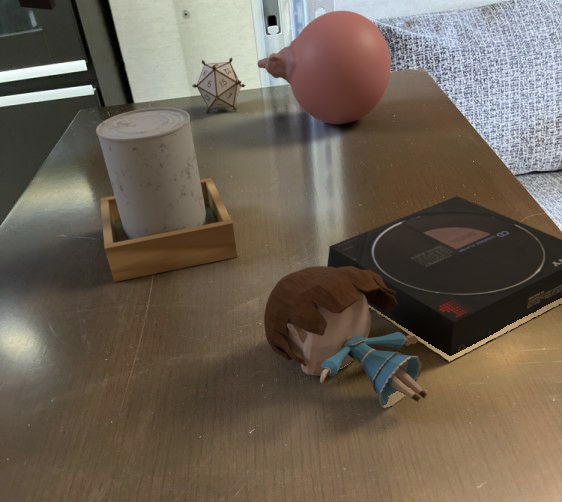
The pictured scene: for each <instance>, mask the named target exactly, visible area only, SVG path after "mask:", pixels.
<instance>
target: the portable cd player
mask: <svg viewBox="0 0 562 502" xmlns="http://www.w3.org/2000/svg"><path fill="white" fill-rule="evenodd" d="M327 257H328V258H327V265H326V266H327V267H335V268H339V267H347V266H353V267H356V268H358V269H360V270H371V271H373V272H374V273H376V274H378V275H380V276H381V278H382V279H383V281H384V283H385V285H386V287H387V288H388V289H391V290H395V291H396V292H395V296H394V297H395V299H396V301H397V305H396V306H395V308H394V309H393V311H385V310H383V309H381V308H379V307H377V306H376V305H374V304H372V303H370V302H367V303H368V305H370V306H371V307H373V308H374V309H375V310H377V311H379V312H381V314H383V315H385V316H387V317H388V318H390V319H391V320H393V321H395V322H396V323H397V324H399V325H401V326H402V327H404V328H406V329H408V331H410V332H412V333H413V334H415V335H416V336H418V337H420V338H421V339H423V340H424V341H426V342H428V344H431V345H432V346H434V347H435V348H437V349H439V350H441V351H442V352H444V353H446V354H447V355H449V356H452V355H454V354H456V353H458V352H460V351H462V350H464V349H466V348H467V347H470V346H472V345H473V344H476V343H477V342H479V341H481V340H483V339H485V338H487V337H489V336H490V335H493V334H494V333H496V332H498V331H500V330H501V329H503V328H504V327H506V326H507V325H510V324H512V323H514V322H516V321H517V320H519V319H522V318H523V317H525V316H528V315H529V314H531V313H534V312H536V311H537V310H539V309H541V308H542V307H544V306H546V305H548V304H550V303H552V302H554V301H556V300H558V299H560V298H562V239H561V238H559V237H556V236H555V235H552V234H550V233H546V232H544V231H542V230H540V229H537V228H535V227H533V226H530V225H527V224H525V223H523V222H520V221H519V220H516V219H514V218H511V217H508V216H506V215H504V214H501V213H499V212H496V211H495V210H492V209H489V208H487V207H485V206H482V205H480V204H477V203H475V202H472V201H471V200H468V199H466V198H463V197H461V196H458V195H456V196H453V197H451V198H448V199H446V200H443V201H441V202H438V203H436V204H433V205H430V206H428V207H426V208H423V209H420V210H418V211H415V212H413V213H410V214H408V215H405V216H402V217H400V218H398V219H394V220H393V221H390V222H387V223H385V224H382V225H380V226H377V227H375V228H372V229H369V230H366V231H364V232H362V233H360V234H357V235H354V236H352V237H349V238H346V239H344V240H342V241H339V242H337V243H334V244H331V245H329V247H328V256H327ZM385 291H386V290H385ZM386 292H387V291H386Z"/></svg>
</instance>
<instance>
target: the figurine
mask: <svg viewBox="0 0 562 502" xmlns="http://www.w3.org/2000/svg"><path fill="white" fill-rule="evenodd" d="M385 290H386V291H387V292H386V291H385ZM395 292H396V291H395V290H391V289H388V288H387V287H386V285H385V283H384V281H383V279H382V278H381V276H380V275H378V274H376V273H374V272H373V271H371V270H360V269H358V268H356V267H353V266H347V267H339V268H335V267H327V265H324V266H323V265H318V266H308V267H305V268H302V269H298V270H296V271H293V272H290V273H288V274H286V275H285V276H283V277H282V278H280V280H279V281H277V283H276V284H275V286H274V287H273V288H272V290H271V292H270V293H269V296H268V299H267V301H266V304H265V309H264V316H263V321H264V324H263V325H264V332H265V337H266V341H267V343H268V345H269V347H270V348H271V350H272V352H274V353H275V354H277V355H279V356H280V357H282V358H283V359H285V360H287V361H292V360H293V361H295V362H296V363H298V364H300V366H301V370H302V372H303V373H305V374H306V375H309V376H320V377H319V382H320V383H321V384H323V383H324V381H325V379H326V378H327V377H335V376H336V375H337V374H339V371H340V370H339V369H340V368H342V367H344V366H345V365H347V364H349V363H350V362H352V361H353V362H354V361H357V362H358V364H360V365H361V366H362V368H363V370H364V371H365V373H366V375H367V378H368V379H369V382H370V384H371V387H372V389H373V390H374V392H375V393H376V395H377V397H378V400H379V404H380V406H381V408H382V409H383V406H384V405H386V404H387V402H388V399H389V397H388V396H390V395H391V394H393V393H395V392H396V391H399V392H401V393H403V394H404V395H406V396H405V397H408V398H410V399H412V400H413V401H414V402H417V403H419V402H420V401H421V398H423V399H424V400H425V399H426V398H427V396H428V394H427V392H426V391H425V390H424V389H423V388H422V387H421V386H420V384H418V382H417V380H418V379H419V377H420V375H421V371H422V366H423V363H422V361H421V358H420V357H419V356H418V355H417V356H416V355H407V354H405V353H404V352H401V351H389V350H377V349H374V348H372V347H371V346H386V347H390V348H396V349H401V348H402V347H403V346H404V345H405V346H407V347H408V346H410V345H415V344H417V342H418V339H417V338H416V337H415V336H411V335H405V334H403V332H400V331H395V332H393V333H388V334H385V335H382V336H375V337H369V334H370V331H371V326H372V319H373V317H372V314H371V311H370V308H368V303H367V302H370V303H372V304H374V305H376V306H377V307H379V308H381V309H383V310H385V311H393V309H394V308H395V306H396V305H397V301H396V299H395V297H394V296H395ZM354 359H355V360H354ZM353 362H352V363H353ZM344 368H345V367H344ZM342 369H343V368H342ZM338 370H339V371H338ZM409 388H411V389H409Z"/></svg>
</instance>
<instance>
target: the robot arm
mask: <svg viewBox="0 0 562 502" xmlns="http://www.w3.org/2000/svg"><path fill="white" fill-rule="evenodd" d="M17 1H18V4H19V6H20V8H27V9H37V10H46V11H47V10H48V11H53V10H54V8H55V7H56V6H57V5H56V1H55V0H17Z"/></svg>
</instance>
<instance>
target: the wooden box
mask: <svg viewBox="0 0 562 502" xmlns="http://www.w3.org/2000/svg"><path fill="white" fill-rule="evenodd" d="M200 182H201V188H202V193H203V199H204V205H205V210H206V216H207V221H208V223H209V224H207V225H202V226H197V227H192V228H187V229H182V230H177V231H172V232H167V233H161V234H156V235H151V236H146V237H141V238H136V239H131V240H126V236H125V232H124V229H123V225H122V221H121V218H120V214H119V210H118V207H117V203H116V199H115V196H114V195H111V196H106V197H101V198H100V199H99V201H100V209H101V210H100V211H101V212H100V213H101V223H102V224H101V225H102V232H103V246H104V251H105V255H106V259H107V261H108V262H107V263H108V264H109V265H108V266H109V269H110V273H111V275H112V278H113V282H114V283H117V282H122V281H128V280H131V279H137V278H142V277H147V276H151V275H156V274H161V273H165V272H170V271H171V272H172V271H176V270H180V269H185V268H189V267H194V266H199V265H204V264H209V263H213V262H218V261H219V262H220V261H224V260H229V259H233V258H238V257H239V255H238V248H237V242H236V236H235V228H234V222H233V219H232V218H231V217H230V214H229V213H228V210H227V208H226V206H225V204H224V202H223V200H222V197H221V195H220V193H219V191H218V189H217V186H216V184H215V183H214V181H213V178H212V177H208V178H207V177H206V178H202V179H200Z"/></svg>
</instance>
